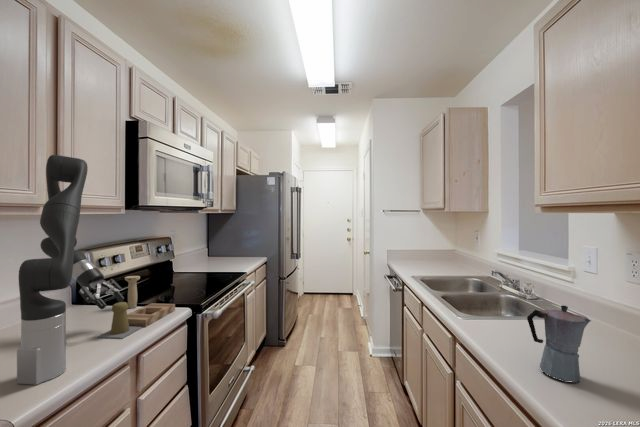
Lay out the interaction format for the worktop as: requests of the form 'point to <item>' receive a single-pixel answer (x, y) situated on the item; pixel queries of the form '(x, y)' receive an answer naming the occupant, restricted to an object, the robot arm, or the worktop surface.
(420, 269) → the worktop surface
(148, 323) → the wooden compartment tray
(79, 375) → the worktop surface
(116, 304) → the cork
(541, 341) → the moka pot
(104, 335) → the rubber mat
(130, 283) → the handle
